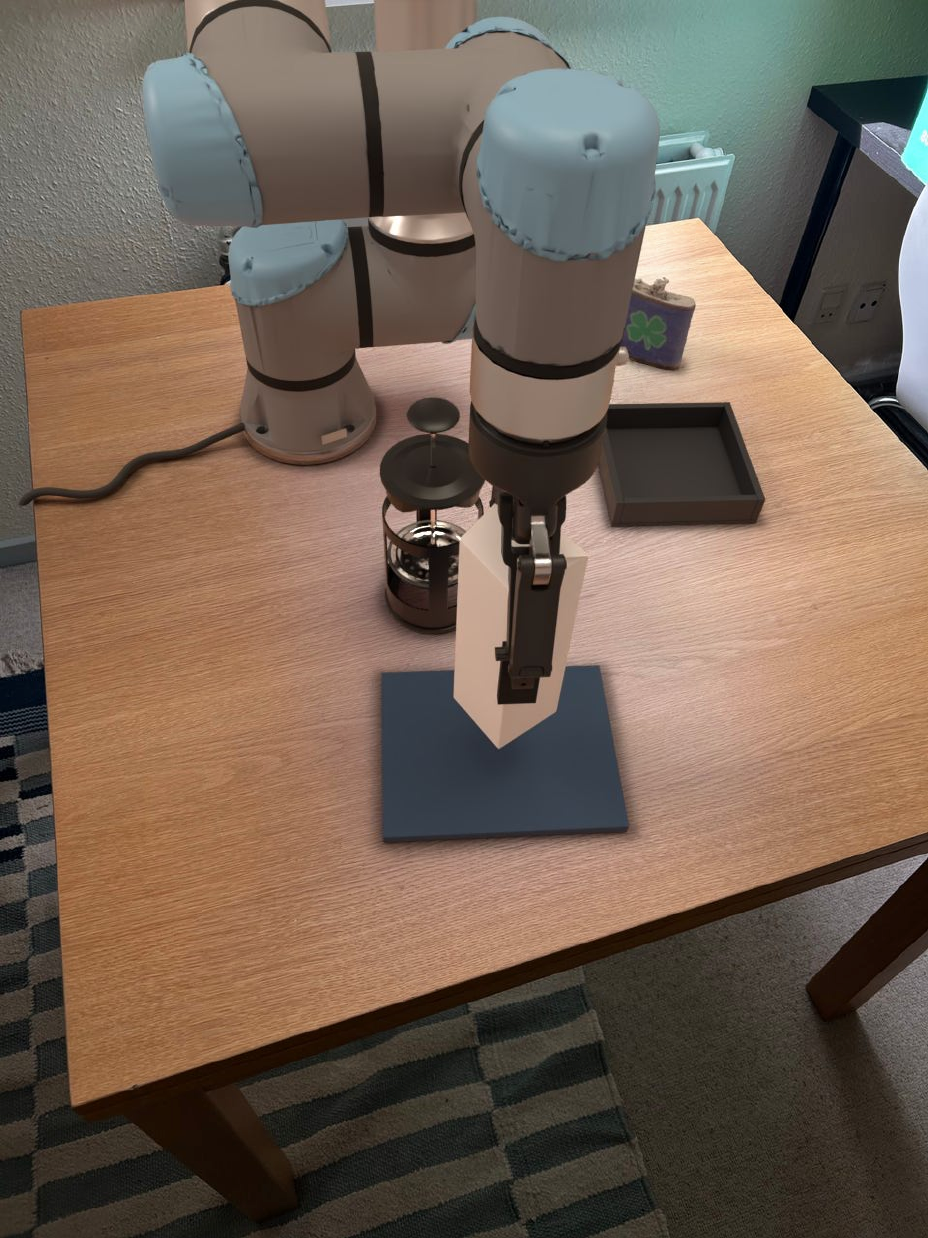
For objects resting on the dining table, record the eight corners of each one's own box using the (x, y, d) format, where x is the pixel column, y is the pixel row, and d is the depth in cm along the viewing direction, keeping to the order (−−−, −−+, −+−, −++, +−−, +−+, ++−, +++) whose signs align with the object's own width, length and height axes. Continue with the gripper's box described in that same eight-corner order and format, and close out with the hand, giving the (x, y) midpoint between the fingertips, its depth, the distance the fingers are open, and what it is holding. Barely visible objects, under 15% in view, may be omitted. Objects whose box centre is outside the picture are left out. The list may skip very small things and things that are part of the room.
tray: (611, 526, 96) (616, 503, 94) (589, 428, 106) (594, 403, 103) (756, 523, 97) (765, 499, 94) (722, 425, 107) (729, 401, 104)
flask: (682, 362, 114) (702, 285, 105) (674, 375, 112) (694, 297, 104) (614, 339, 116) (628, 261, 108) (605, 351, 115) (619, 273, 106)
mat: (383, 843, 74) (382, 837, 73) (381, 678, 84) (381, 672, 83) (627, 831, 75) (629, 826, 74) (597, 671, 85) (599, 664, 84)
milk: (498, 751, 71) (519, 565, 53) (451, 697, 74) (457, 504, 56) (558, 711, 73) (597, 521, 56) (510, 660, 76) (534, 464, 59)
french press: (488, 635, 87) (503, 453, 69) (389, 644, 86) (378, 461, 68) (471, 544, 94) (480, 357, 76) (379, 551, 93) (367, 363, 75)
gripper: (643, 544, 43) (580, 774, 61) (581, 290, 56) (544, 541, 74) (485, 548, 43) (468, 778, 61) (458, 291, 56) (451, 544, 74)
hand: (510, 648), depth 67 cm, fingers closed on milk, 8 cm apart
